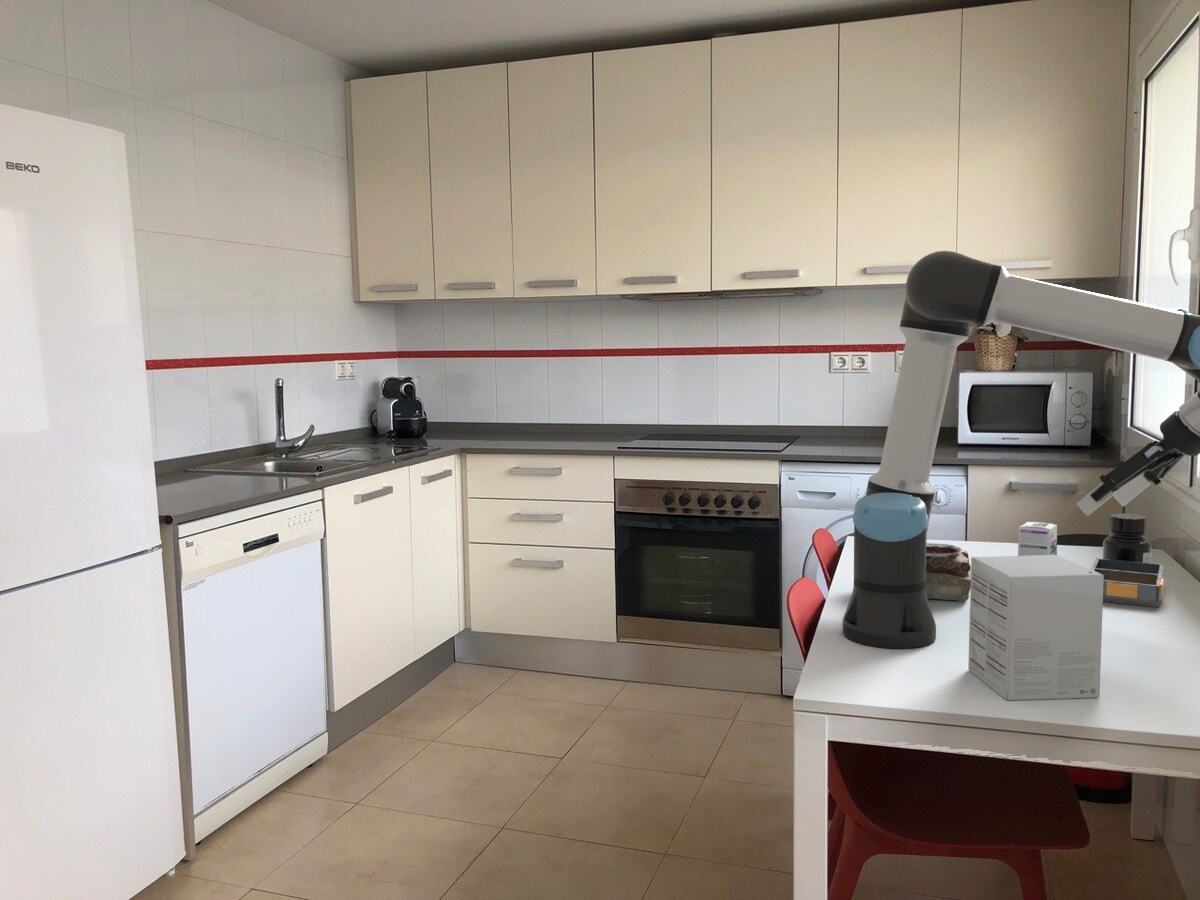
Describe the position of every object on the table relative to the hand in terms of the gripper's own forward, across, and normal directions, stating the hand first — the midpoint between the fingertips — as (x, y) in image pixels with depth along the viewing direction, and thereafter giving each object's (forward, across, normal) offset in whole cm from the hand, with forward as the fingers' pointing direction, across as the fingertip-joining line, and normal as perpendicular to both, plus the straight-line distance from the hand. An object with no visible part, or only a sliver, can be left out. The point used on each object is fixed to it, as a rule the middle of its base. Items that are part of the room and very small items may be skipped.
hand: (1100, 505), depth 170 cm
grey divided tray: (+16, +18, -12) cm, 26 cm away
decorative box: (+33, -16, +5) cm, 37 cm away
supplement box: (+6, -44, -22) cm, 50 cm away
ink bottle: (+21, +34, -7) cm, 41 cm away
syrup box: (+22, 0, -6) cm, 23 cm away
